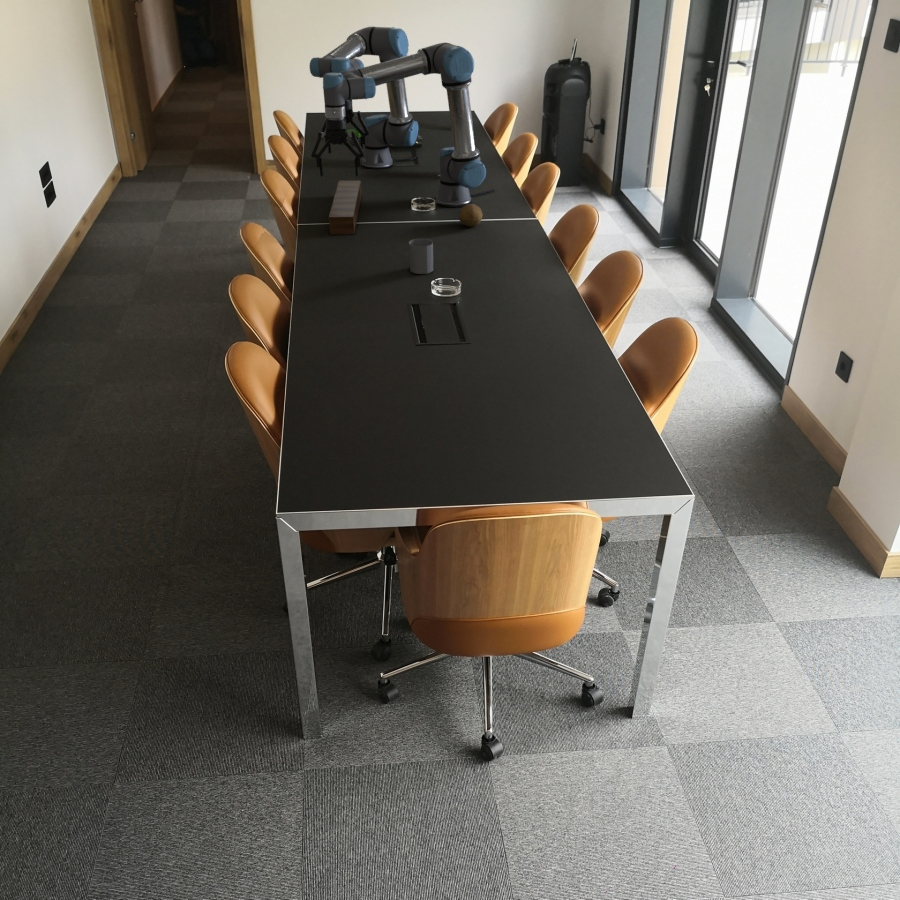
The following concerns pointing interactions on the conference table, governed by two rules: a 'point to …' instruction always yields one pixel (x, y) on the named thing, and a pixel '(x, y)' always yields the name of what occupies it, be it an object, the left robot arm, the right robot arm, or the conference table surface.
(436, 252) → the conference table surface
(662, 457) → the conference table surface
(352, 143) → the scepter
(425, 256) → the cup
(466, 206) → the potato
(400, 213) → the conference table surface
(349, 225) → the wooden beam
